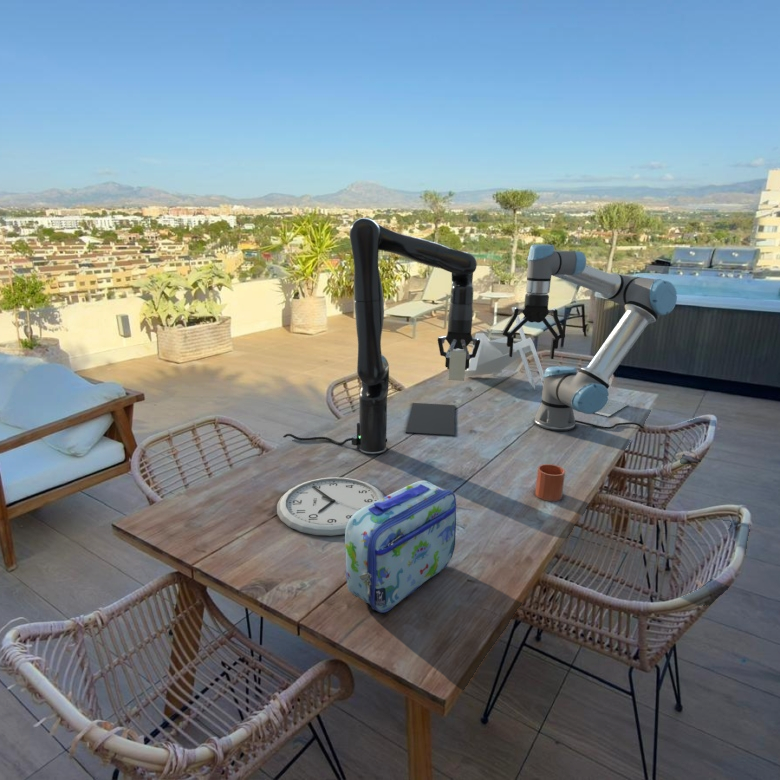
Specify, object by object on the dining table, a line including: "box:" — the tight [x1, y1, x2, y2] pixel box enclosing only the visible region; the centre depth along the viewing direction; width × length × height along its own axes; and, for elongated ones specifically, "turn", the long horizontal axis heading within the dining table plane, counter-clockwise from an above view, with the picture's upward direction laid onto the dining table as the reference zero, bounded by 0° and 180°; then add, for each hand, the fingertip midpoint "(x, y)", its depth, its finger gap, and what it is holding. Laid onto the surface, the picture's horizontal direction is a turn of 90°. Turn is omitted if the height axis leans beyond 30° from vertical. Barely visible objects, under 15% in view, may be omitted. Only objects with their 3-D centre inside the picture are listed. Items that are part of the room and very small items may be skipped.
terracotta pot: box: [534, 463, 566, 502], centre depth 149 cm, size 7×7×8 cm
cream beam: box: [448, 349, 466, 382], centre depth 178 cm, size 5×26×9 cm, turn 172°
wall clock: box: [276, 476, 386, 537], centre depth 143 cm, size 30×2×30 cm
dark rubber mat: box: [405, 402, 456, 437], centre depth 209 cm, size 18×34×1 cm, turn 173°
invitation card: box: [594, 399, 628, 418], centre depth 226 cm, size 21×1×15 cm
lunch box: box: [344, 480, 457, 614], centre depth 109 cm, size 26×11×21 cm, turn 135°
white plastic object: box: [465, 306, 545, 390], centre depth 260 cm, size 37×45×31 cm
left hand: (456, 368), depth 170 cm, fingers closed on cream beam, 5 cm apart
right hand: (530, 357), depth 176 cm, fingers open, 13 cm apart
